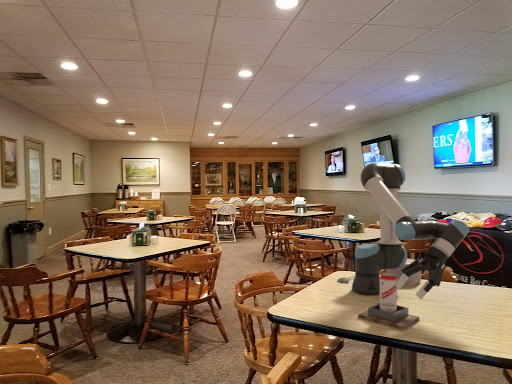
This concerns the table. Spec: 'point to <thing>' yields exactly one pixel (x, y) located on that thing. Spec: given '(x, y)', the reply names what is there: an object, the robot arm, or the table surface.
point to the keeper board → (400, 324)
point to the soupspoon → (344, 280)
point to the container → (412, 279)
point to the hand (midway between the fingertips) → (406, 292)
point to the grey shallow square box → (388, 313)
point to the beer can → (388, 292)
